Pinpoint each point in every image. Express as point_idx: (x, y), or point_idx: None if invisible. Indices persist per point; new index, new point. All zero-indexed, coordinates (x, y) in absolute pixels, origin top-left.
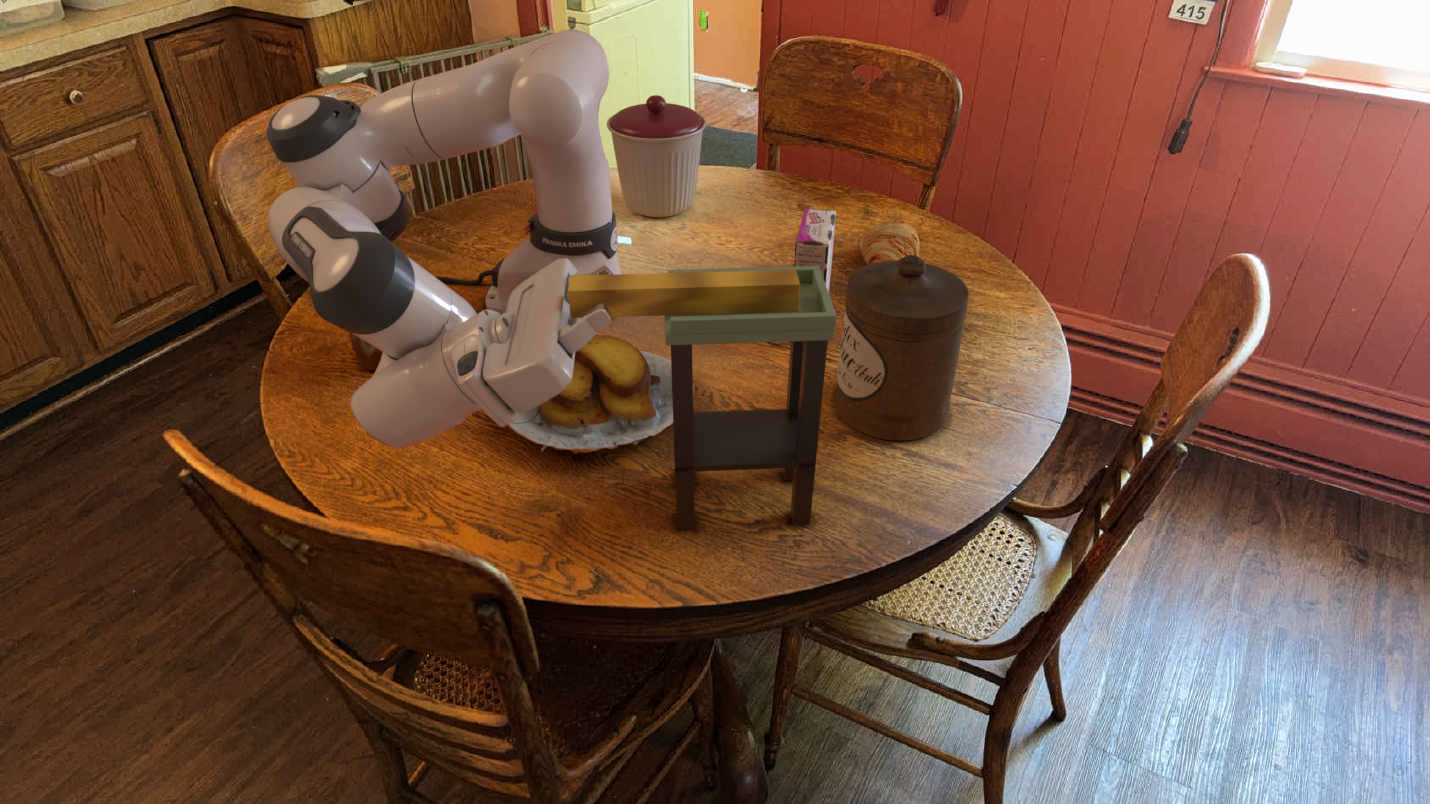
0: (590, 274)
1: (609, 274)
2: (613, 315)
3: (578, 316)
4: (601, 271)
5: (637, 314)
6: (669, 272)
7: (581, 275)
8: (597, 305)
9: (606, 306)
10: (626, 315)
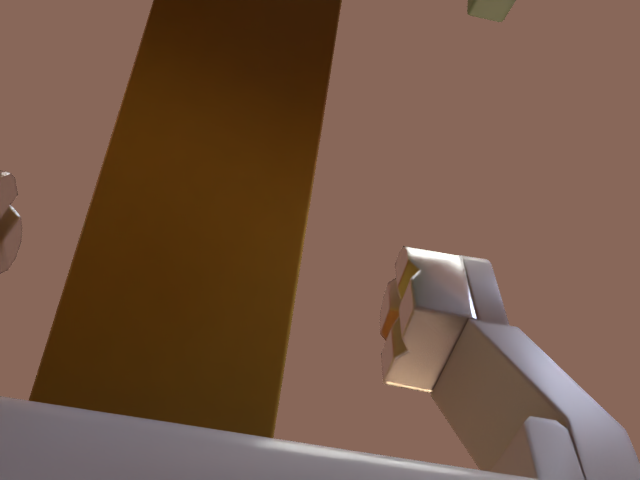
0: (439, 397)
1: (392, 281)
2: (107, 157)
3: (34, 390)
4: (381, 327)
5: (146, 34)
6: (474, 13)
7: (478, 465)
8: (2, 266)
9: (18, 219)
10: (129, 85)
